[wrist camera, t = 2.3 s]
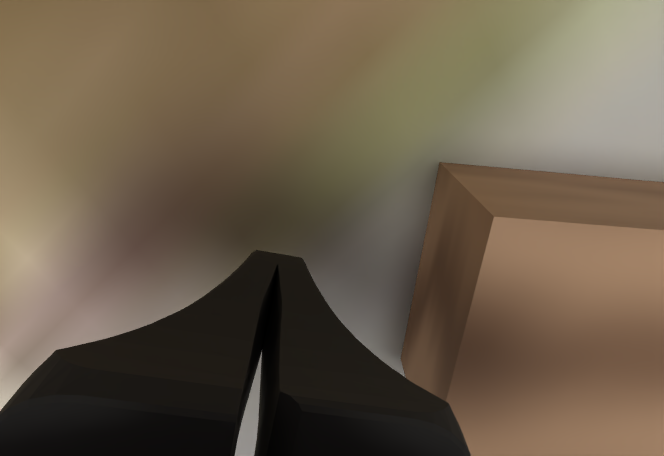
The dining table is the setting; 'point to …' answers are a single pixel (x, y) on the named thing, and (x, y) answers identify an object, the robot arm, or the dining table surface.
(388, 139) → the dining table surface
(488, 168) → the walnut block
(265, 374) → the robot arm
